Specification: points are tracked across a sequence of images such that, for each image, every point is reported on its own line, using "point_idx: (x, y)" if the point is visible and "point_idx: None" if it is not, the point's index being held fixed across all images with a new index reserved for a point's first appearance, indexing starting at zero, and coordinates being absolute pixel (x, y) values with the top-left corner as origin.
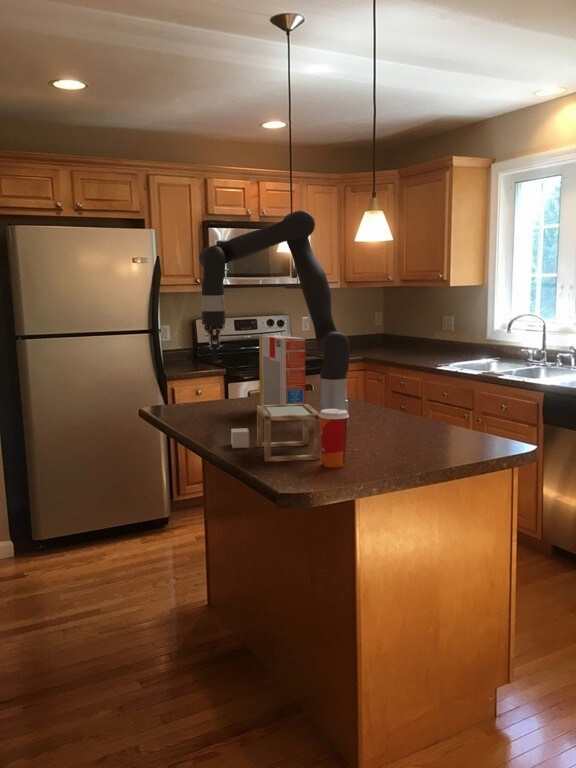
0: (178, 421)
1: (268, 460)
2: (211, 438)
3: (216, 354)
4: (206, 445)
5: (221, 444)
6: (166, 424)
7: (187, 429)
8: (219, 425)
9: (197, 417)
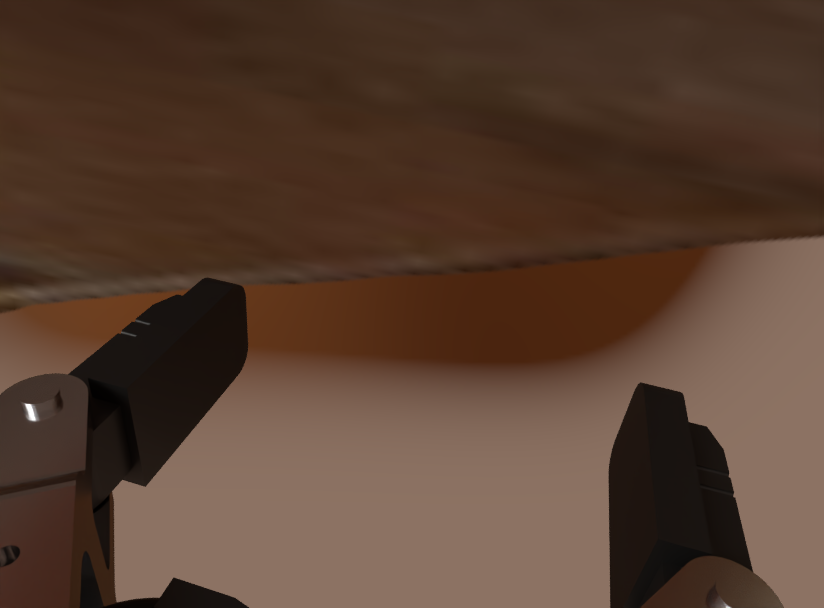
0: (138, 218)
1: None
2: (600, 140)
3: (728, 512)
4: (771, 205)
5: (796, 116)
6: None
7: (331, 216)
8: (253, 18)
9: (38, 105)
